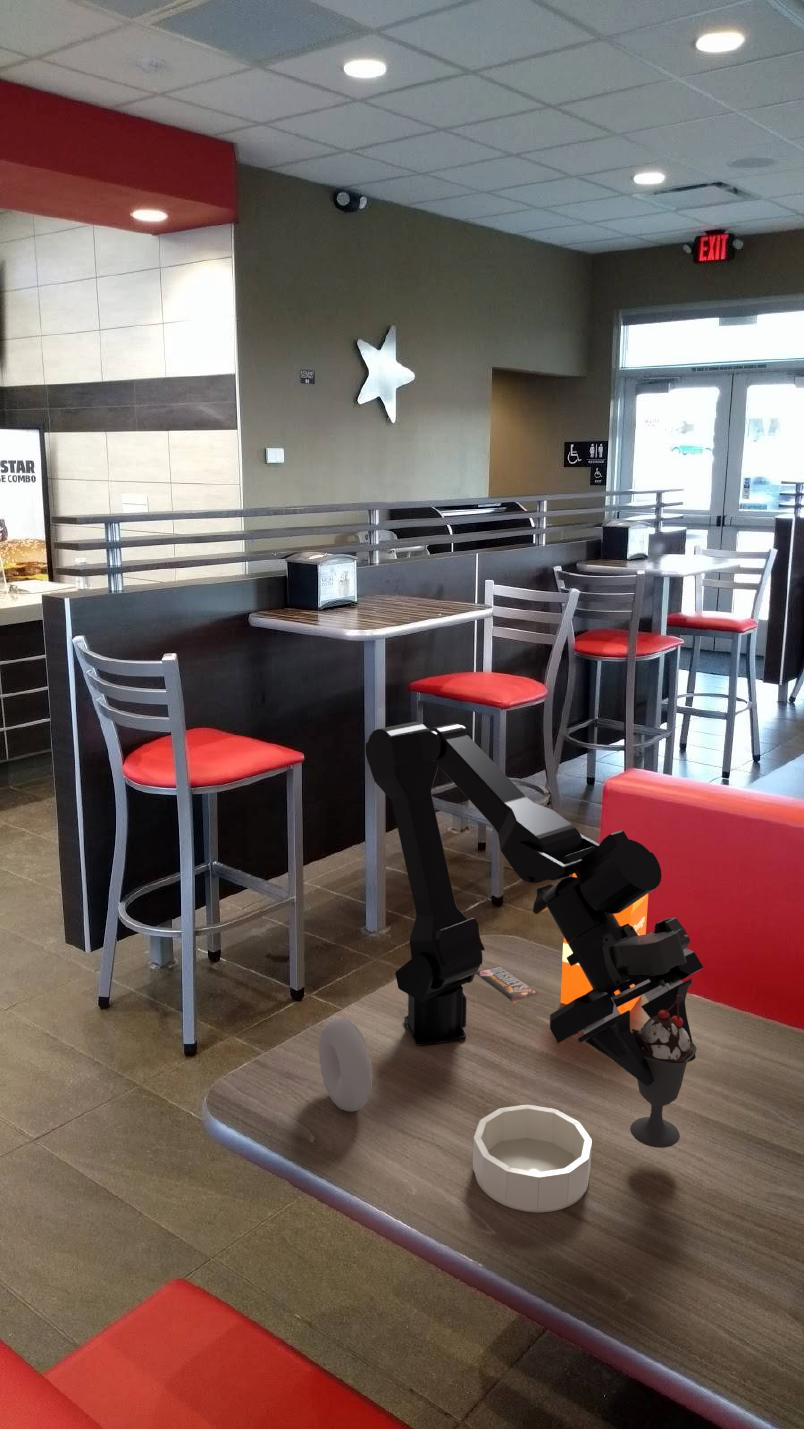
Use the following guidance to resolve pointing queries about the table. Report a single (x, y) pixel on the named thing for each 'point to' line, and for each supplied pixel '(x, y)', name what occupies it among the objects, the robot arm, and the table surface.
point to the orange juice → (574, 975)
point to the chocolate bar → (507, 984)
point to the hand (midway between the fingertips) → (671, 1072)
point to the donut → (345, 1064)
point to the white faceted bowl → (532, 1158)
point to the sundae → (662, 1074)
